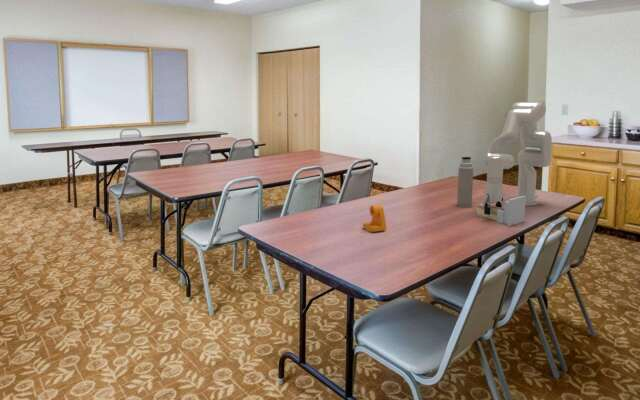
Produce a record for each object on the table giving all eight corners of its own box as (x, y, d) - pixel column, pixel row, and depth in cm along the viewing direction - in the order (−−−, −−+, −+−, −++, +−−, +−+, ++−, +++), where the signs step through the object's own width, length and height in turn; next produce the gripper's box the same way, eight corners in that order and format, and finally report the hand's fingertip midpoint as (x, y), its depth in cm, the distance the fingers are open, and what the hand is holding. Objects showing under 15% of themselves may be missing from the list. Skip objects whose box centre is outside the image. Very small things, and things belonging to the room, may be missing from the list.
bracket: (362, 228, 245) (362, 204, 242) (375, 226, 247) (375, 202, 245) (372, 233, 235) (373, 208, 232) (386, 231, 238) (386, 207, 235)
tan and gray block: (481, 214, 265) (482, 203, 264) (509, 220, 252) (510, 208, 251) (476, 216, 262) (477, 204, 261) (504, 222, 250) (505, 210, 248)
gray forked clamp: (494, 222, 249) (495, 197, 246) (509, 218, 257) (510, 193, 254) (509, 226, 243) (511, 199, 240) (524, 221, 251) (525, 196, 248)
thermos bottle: (470, 204, 289) (473, 156, 283) (472, 207, 281) (474, 158, 275) (456, 204, 291) (458, 156, 285) (457, 207, 283) (459, 158, 277)
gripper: (497, 177, 261) (496, 209, 265) (477, 181, 251) (476, 214, 255) (510, 179, 255) (508, 211, 259) (491, 183, 245) (489, 217, 249)
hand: (492, 212), depth 257 cm, fingers open, 9 cm apart
